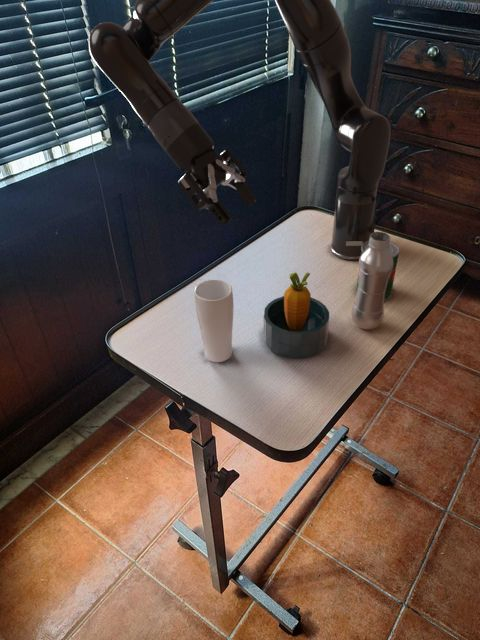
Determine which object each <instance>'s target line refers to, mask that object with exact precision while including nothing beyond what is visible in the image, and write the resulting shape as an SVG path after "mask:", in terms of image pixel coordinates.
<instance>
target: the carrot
mask: <svg viewBox="0 0 480 640" xmlns="http://www.w3.org/2000/svg"><path fill="white" fill-rule="evenodd" d="M310 275H311V273H310V272H306V273H305V274H304V275H303V278H302V280H300V276H299V274H298V272H293V273H290V274H289V279H290V281H291V283H290V284H289V286H288V287H287V289H286V290H285V291H284V293H283V296H284V311H285V317H286V321H287V325H288V327H289V329H290V331H297V332H301V331H302V329H303V327H304V325H305V323H306V320H307V317H308V313H309V307H310V297H311V292H310V290H309V289H308V287H307V285H308V282H307V280H308V278H309V277H310Z"/></svg>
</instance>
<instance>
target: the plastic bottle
mask: <svg viewBox="0 0 480 640" xmlns="http://www.w3.org/2000/svg"><path fill="white" fill-rule="evenodd" d="M389 242H391V236H390V235H389V234H388V233H386V232H384V231H374V232H373V233H372V234H371V235H370V240H369V243H368V245H369V247H368V248H367V249H366V250H365V251H364V252H363V253H362V255H361V257H360V259H358V272H359V285H358V291H357V293H356V296H355V300H354V302H353V305H352V307H351V320H352V322H353V323H354V324H355V326H356V327H358V328H360V329H363V330H374V329H376V328H377V327H379V326H380V325H381V324H382V322H383V320H384V317H385V306H384V305H385V301H384V296H385V290H386V286H387V282H388V279H389V277H390V274H391V271H392V268H393V258H392V256H391V254H390V252H389V250H388V248H389V246H390V243H389Z"/></svg>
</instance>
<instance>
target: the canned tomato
mask: <svg viewBox="0 0 480 640" xmlns="http://www.w3.org/2000/svg"><path fill="white" fill-rule="evenodd" d="M368 243H369V241H366V242H365V243H363V244H362V247H361V255H362V253H363V252H364V251H365V250H366V249H367V248H368V247H369V245H368ZM389 243H390V246H389V248H388V250H389V252H390V254H391V256H392V258H393V268H392V271H391V274H390V277H389V279H388V282H387V286H386V290H385V296H384V302H385V301H387V300H389V299H390V298H391V296H392V292H393V287H394V282H395V276H396V270H397V266H398V265H397V264H398V260H399V254H400V248H399V246H398V245H397V244H396V243H394V242H392V241H390V242H389ZM358 285H359V271H358V272H357V279H356V287H355V293H356V294H357V291H358Z"/></svg>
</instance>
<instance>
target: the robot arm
mask: <svg viewBox="0 0 480 640" xmlns="http://www.w3.org/2000/svg"><path fill="white" fill-rule="evenodd" d="M214 1H215V0H136V1H135V3H134V5H133V14H132V15H131V17H130V18H129V19H128V20H127V21H126V23H124V25H123V26H122V25H120V24H118V23H115V22H111V21H104V22H100V23H98V24H96V25H95V26H94V27H93V28H92V29H91V32H90V34H89V38H88V49H89V52H90V56H91V58H92V60H93V61H94V63H95V64H96V66H98V68H99V69H100V71H102V72H103V74H104V75H105V76H106V77H107V78H108V79H109V81H110V82H112V84H113V85H114V86H115V87H116V88H117V89H118V91H119V92H121V94H122V95H123V96H124V97H125V98H126V100H127V101H128V102H129V104H130V105H131V107H132V109H133V110H134V112H135V113H136V114H137V115H138V117H139V118H140V119H141V120H142V123H144V124H145V126H146V127H147V128H148V129H149V131H150V133H151V134H152V136H153V137H154V139H155V141H156V142H157V143H158V145H160V147H161V148H162V149H163V150H164V152H165V153H166V155H168V157H169V158H170V160H172V161H173V163H174V164H175V166H176V167H177V169H178V170H179V171H180V172H182V173H185V174H184V175H183V176H182V177H181V178H180V179H179V180H178V181H177V183H178V185H179V187H180V189H181V190H182V191H183V192H184V193H185V195H186V196H187V198H188V199H189V200H190V202H191V203H192V205H193V206H194V207H195V208H196V210H198V211H202V210H204V209H206V210H208V211H209V212H211V214H212V215H213V216H214V217H215V219H216V220H217V222H219V223H220V224H221V225H222V226H226V225H228V224H229V223H230V222H231V221H232V220H233V216H232V215H231V214H230V212H229V211H228V210H227V208H226V207H225V206H224V204H223V203H222V202H221V201H220V200H218V195H217V189H218V188H217V187H219V186H224V187H225V186H228V187H230V188H232V189H234V190H235V193H236V194H237V195H238V197H239V198H240V199H241V201H243V203H244V205H246V206H247V207H251V206H252V205H253V204H254V203H256V202H257V197H256V196H255V194H254V192H253V191H252V190H251V189H250V187H249V186H248V185H247V183H246V178H247V177H248V175H249V173H248V171H247V169H245V168H244V166H243V165H242V164H241V162H240V161H239V160H238V159H237V158H236V157H235V156H234V154H233V153H232V152H231V150H230V149H228V148H226V149H224V150H223V151H222V152H221V153H220V154H218V153H217V152H216V151H215V150H214V149H215V142H214V140H213V139H212V138H211V137H210V135H209V134H208V132H206V130H205V129H204V128H203V126H202V124H201V123H199V121H198V120H197V118H196V117H195V116H194V115H193V113H192V112H191V110H190V109H189V108H188V107H187V106H186V105H185V104H184V103H183V102H182V101H181V100H180V99H179V97H178V96H177V95H176V93H175V92H174V91H173V90H172V88H171V87H170V86H169V84H168V83H167V82H166V81H165V80H164V79H163V78H162V77H161V75H160V74H159V73H158V72H157V71H156V70H155V69H154V68H153V65H152V64H151V63H150V61H152V59H153V58H154V57H155V55H156V54H158V52H159V51H160V49H161V48H162V46H163V45H164V44H165V43H166V42H167V41H168V40H170V39H171V38H173V36H174V35H176V34H177V33H179V31H180V30H182V28H183V27H185V26H186V25H187V24H189V22H191V21H192V20H193V19H194V18H195V17H196V16H197V15H199V13H201V12H202V11H203V10H204V9H205V8H207V7H208V6H209V5H210V4H212V3H213V2H214ZM274 2H275V5H276V8H277V10H278V12H279V14H280V17H281V19H282V21H283V24H284V26H285V28H286V30H287V32H288V34H289V38H290V39H291V42H292V43H293V47H294V48H295V50H296V53H297V55H298V56H299V59H300V61H301V63H302V64H303V66H304V68H305V70H306V71H307V73H308V75H309V77H310V80H311V81H312V84H313V86H314V88H315V89H316V92H317V93H318V95H319V96H320V98H321V100H322V103H323V104H324V107H325V110H326V112H327V115H328V118H329V121H330V125H331V126H332V129H333V132H334V135H335V137H336V140H337V142H338V143H339V144H340V146H341V147H342V148H343V149H345V150H346V151H348V152H350V158H349V163H348V166H345V167H342V168H341V169H340V170H339V171H338V175H337V182H336V183H337V184H336V191H335V192H336V193H335V204H334V213H333V214H334V216H333V226H332V237H331V245H330V251H331V254H332V255H334V256H335V257H337V258H339V259H342V260H345V261H357V260H358V261H359V259H360V257H361V247H362V244H363V243H365V242H366V241H369V240H370V235H371V234H372V233H373V232H375V229H376V224H377V223H376V222H377V215H376V213H375V209H376V203H377V195H378V187H379V183H380V180H381V177H382V176H383V174H384V172H385V167H386V163H387V157H388V153H389V147H390V143H391V135H392V134H391V133H392V132H391V124H390V122H389V120H388V118H387V117H385V116H384V115H382V114H380V113H378V112H377V111H374V110H372V109H371V108H369V107H367V106H366V105H365V103H364V101H363V100H362V98H361V97H360V94H359V93H358V90H357V88H356V86H355V83H354V80H353V76H352V49H351V44H350V40H349V37H348V34H347V33H346V30H345V28H344V25H343V23H342V21H341V18H340V16H339V13H338V12H337V9H336V8H335V6H334V4H333V2H332V0H274ZM236 170H237V171H238V173H237V171H236ZM197 196H198V197H197Z"/></svg>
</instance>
